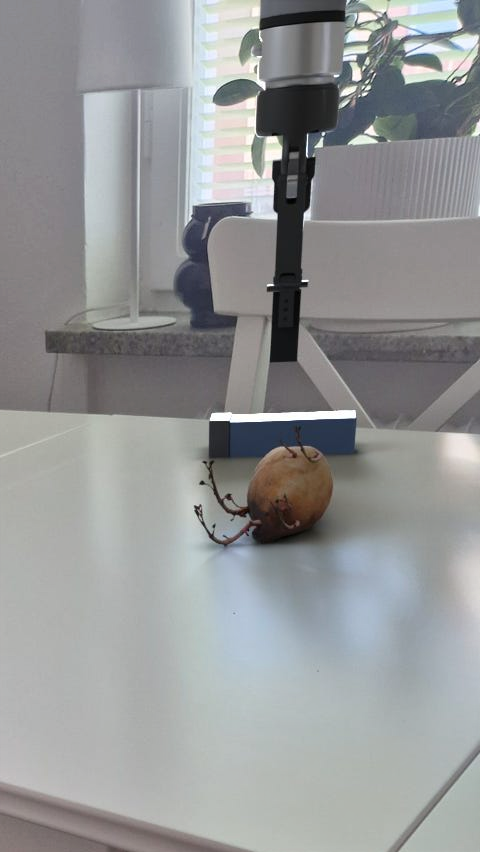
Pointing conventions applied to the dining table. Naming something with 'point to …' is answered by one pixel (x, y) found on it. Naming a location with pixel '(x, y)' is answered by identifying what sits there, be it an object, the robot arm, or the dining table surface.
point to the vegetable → (280, 493)
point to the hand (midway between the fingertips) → (283, 360)
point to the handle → (281, 433)
